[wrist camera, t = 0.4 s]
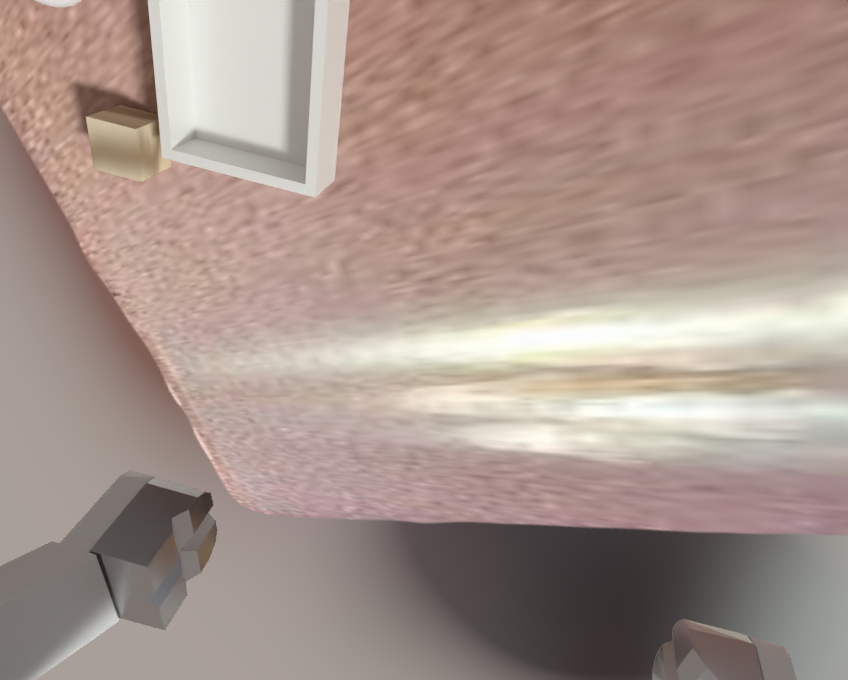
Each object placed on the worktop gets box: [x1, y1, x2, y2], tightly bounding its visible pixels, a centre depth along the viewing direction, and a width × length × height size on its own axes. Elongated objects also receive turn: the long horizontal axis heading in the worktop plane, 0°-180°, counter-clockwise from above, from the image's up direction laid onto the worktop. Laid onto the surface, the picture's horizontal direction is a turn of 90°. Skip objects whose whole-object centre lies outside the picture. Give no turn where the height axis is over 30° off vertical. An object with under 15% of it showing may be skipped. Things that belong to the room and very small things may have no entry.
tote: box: [148, 0, 350, 197], centre depth 50 cm, size 19×15×5 cm
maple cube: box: [86, 105, 171, 182], centre depth 57 cm, size 5×5×5 cm
